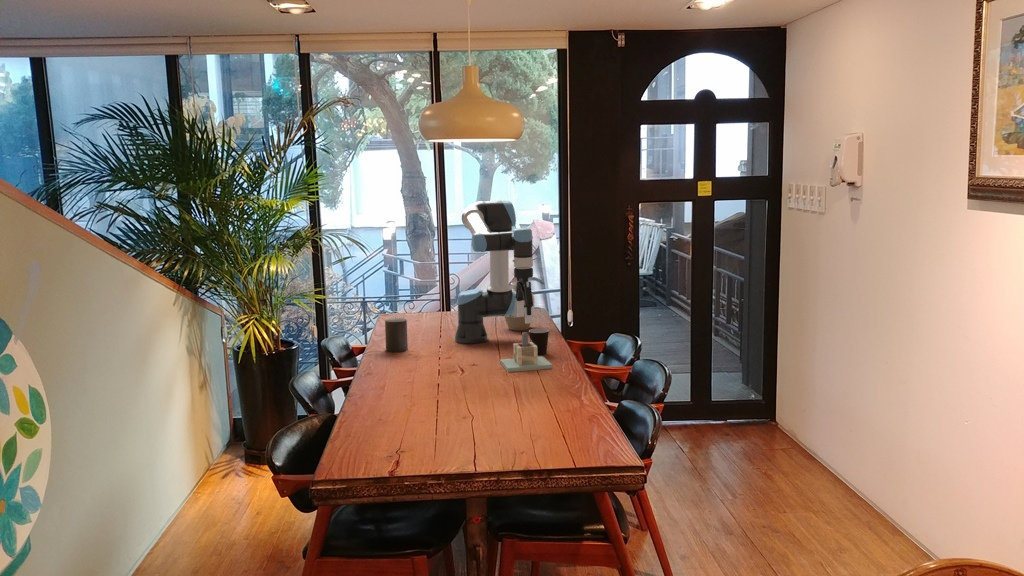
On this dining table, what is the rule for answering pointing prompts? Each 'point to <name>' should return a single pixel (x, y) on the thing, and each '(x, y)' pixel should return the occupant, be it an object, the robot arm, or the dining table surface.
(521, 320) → the vase
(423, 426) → the dining table surface
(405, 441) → the dining table surface
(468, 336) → the robot arm
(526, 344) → the rod stand
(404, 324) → the pillar candle
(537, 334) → the coffee mug
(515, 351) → the wooden square ring
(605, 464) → the dining table surface
